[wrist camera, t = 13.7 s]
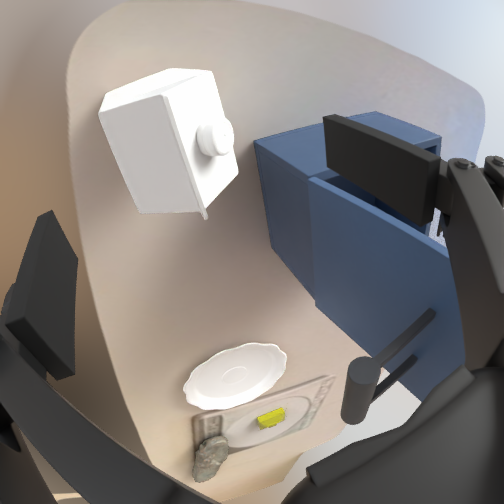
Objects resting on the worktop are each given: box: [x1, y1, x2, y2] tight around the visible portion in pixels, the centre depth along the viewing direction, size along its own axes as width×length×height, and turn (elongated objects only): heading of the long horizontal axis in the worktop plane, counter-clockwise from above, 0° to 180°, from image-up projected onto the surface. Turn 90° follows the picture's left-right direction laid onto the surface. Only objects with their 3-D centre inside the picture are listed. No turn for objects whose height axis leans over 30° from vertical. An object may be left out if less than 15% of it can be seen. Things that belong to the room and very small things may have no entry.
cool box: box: [254, 112, 442, 300], centre depth 39 cm, size 19×16×12 cm
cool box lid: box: [307, 177, 465, 425], centre depth 23 cm, size 20×16×9 cm
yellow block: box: [257, 408, 286, 430], centre depth 77 cm, size 10×9×3 cm
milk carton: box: [98, 68, 238, 220], centre depth 22 cm, size 7×7×19 cm
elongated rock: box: [193, 436, 229, 483], centre depth 79 cm, size 35×5×10 cm
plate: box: [183, 342, 287, 410], centre depth 59 cm, size 21×21×2 cm
